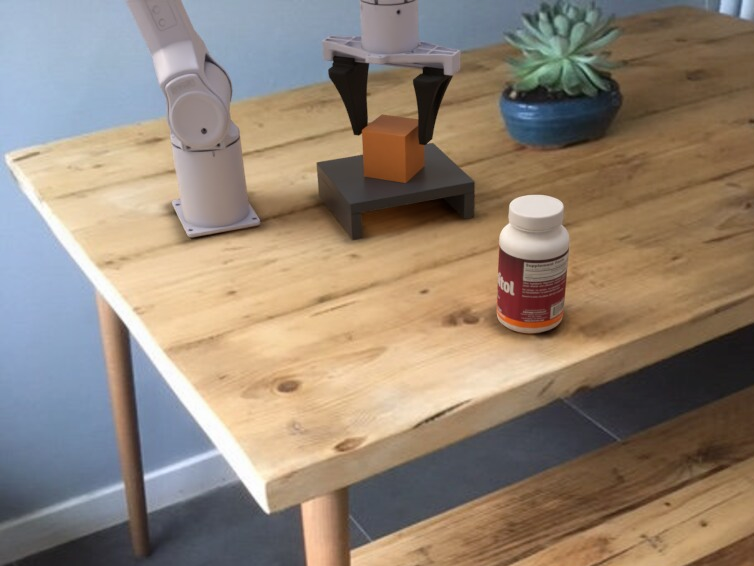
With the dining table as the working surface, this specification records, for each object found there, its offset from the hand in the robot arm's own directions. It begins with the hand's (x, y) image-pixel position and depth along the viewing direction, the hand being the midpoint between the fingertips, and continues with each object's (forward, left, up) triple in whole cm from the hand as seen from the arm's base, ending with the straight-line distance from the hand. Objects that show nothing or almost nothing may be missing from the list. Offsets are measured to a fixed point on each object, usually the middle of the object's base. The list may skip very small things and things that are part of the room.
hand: (392, 136), depth 110 cm
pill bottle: (+28, +3, -8) cm, 29 cm away
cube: (0, 0, -4) cm, 4 cm away
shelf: (0, 0, -8) cm, 8 cm away
